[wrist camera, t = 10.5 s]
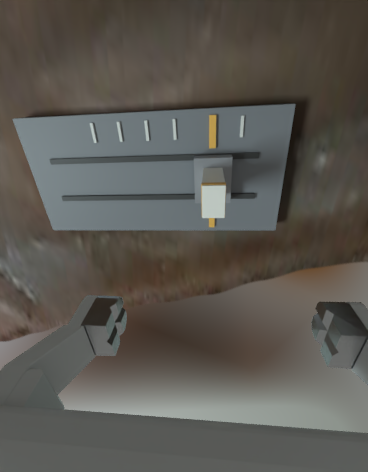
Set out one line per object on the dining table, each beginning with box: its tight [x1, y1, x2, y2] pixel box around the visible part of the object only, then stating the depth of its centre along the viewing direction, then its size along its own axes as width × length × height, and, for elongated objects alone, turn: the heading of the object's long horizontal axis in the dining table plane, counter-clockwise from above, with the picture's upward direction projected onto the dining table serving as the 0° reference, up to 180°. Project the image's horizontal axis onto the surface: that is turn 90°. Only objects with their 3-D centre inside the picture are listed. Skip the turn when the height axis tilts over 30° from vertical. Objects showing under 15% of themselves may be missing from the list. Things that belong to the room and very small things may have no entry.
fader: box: [194, 155, 233, 218], centre depth 24 cm, size 5×4×8 cm
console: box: [13, 104, 296, 230], centre depth 29 cm, size 14×30×2 cm, turn 93°
